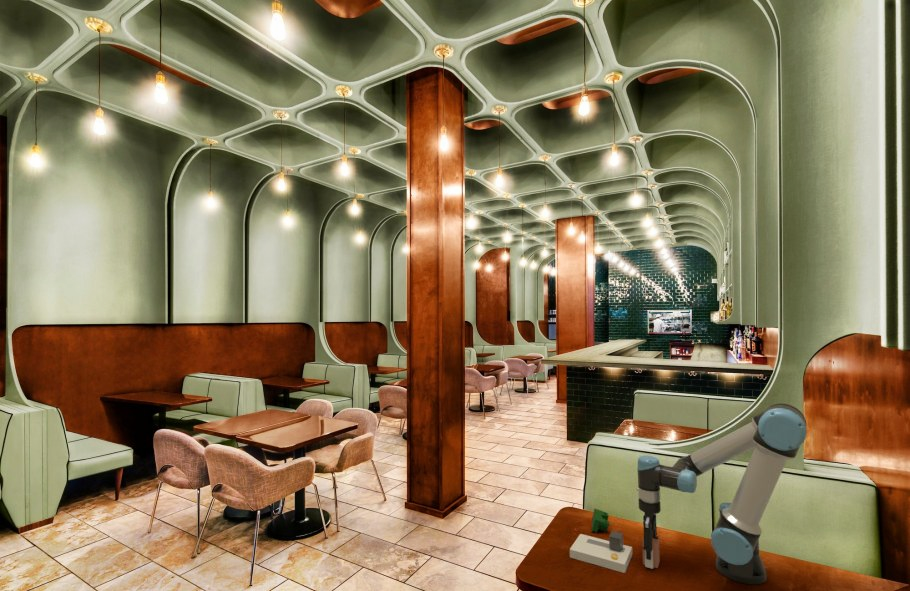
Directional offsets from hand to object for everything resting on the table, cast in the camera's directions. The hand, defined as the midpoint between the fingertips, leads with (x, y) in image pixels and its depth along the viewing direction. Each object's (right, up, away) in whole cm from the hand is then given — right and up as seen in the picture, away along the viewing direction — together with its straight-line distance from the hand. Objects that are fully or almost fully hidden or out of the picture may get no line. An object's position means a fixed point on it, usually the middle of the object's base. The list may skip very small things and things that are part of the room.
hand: (651, 561), depth 164 cm
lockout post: (0, 0, 0) cm, 0 cm away
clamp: (-10, -2, +27) cm, 29 cm away
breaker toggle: (-11, +3, +5) cm, 12 cm away
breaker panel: (-17, -1, +5) cm, 18 cm away
